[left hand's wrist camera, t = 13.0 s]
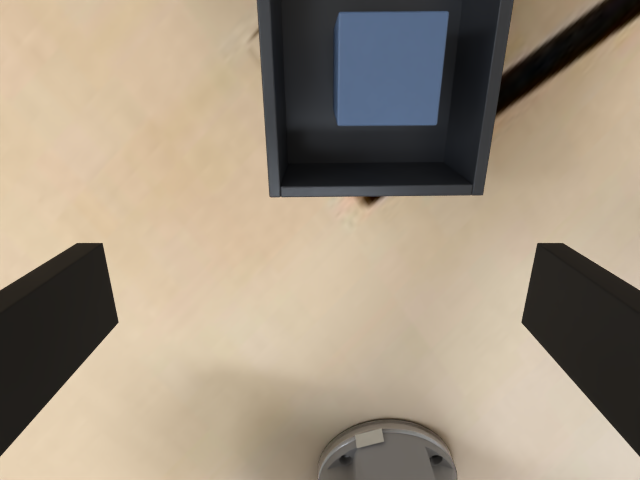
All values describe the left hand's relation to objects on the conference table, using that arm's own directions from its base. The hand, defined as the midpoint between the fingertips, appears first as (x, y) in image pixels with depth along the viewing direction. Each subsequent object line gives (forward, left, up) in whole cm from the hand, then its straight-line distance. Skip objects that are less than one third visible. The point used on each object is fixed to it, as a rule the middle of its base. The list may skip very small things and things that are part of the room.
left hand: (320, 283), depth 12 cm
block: (+6, -3, -15) cm, 16 cm away
